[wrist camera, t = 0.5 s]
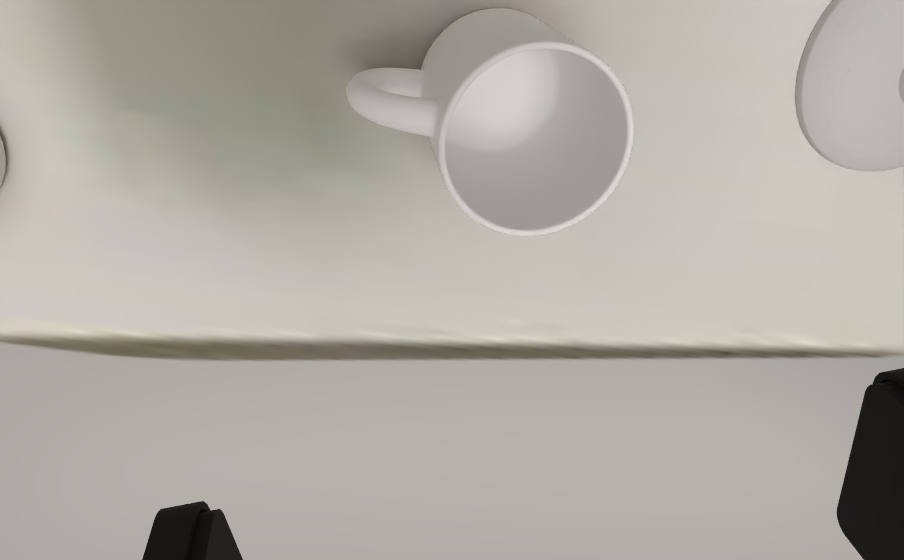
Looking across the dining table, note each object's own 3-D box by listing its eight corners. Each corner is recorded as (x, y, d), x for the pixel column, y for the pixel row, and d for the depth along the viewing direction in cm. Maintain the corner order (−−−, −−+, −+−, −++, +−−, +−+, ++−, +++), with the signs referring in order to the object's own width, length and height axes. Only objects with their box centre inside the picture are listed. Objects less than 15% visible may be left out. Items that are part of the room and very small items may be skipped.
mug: (336, 140, 37) (335, 216, 28) (354, -23, 34) (358, 6, 25) (544, 168, 40) (602, 246, 31) (583, 20, 36) (661, 60, 27)
